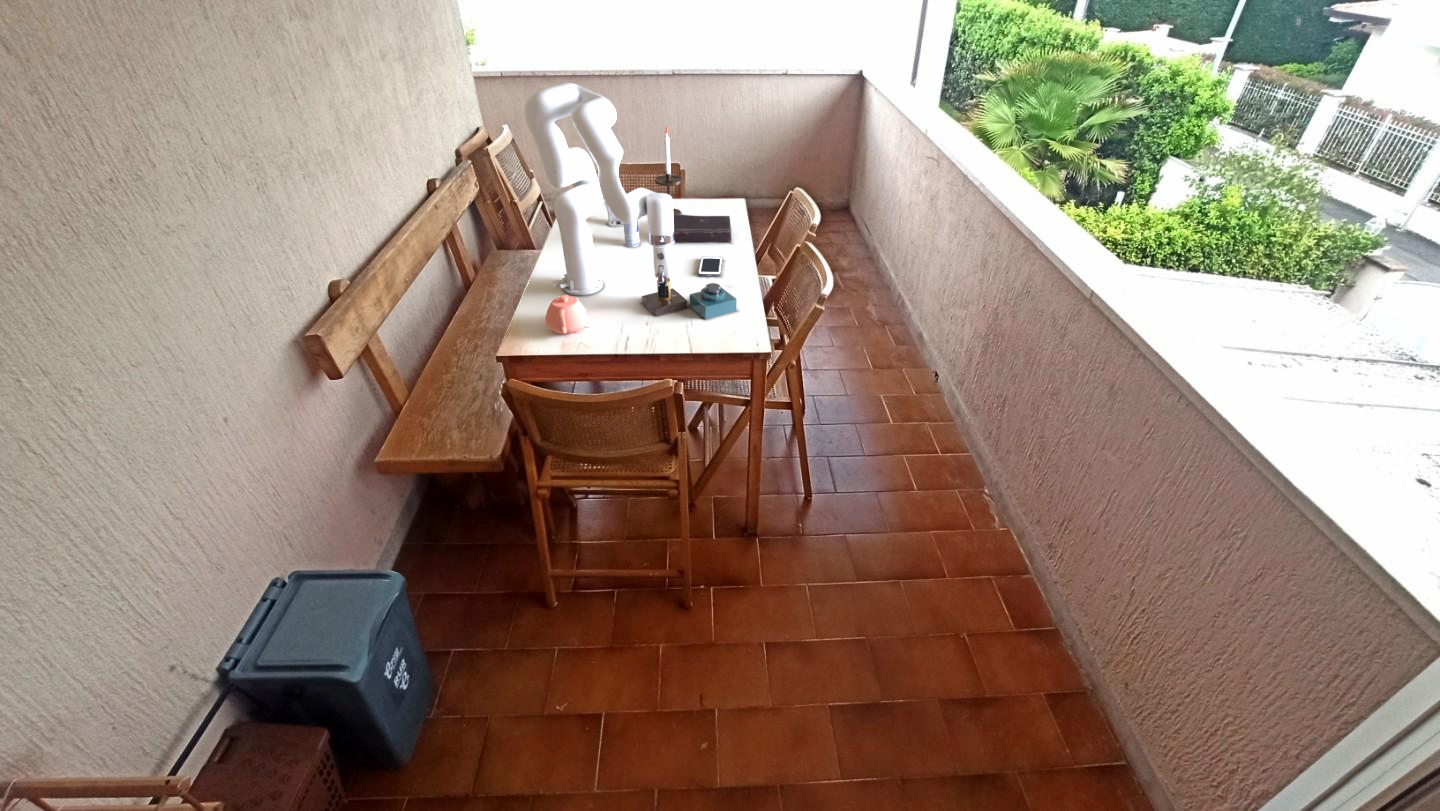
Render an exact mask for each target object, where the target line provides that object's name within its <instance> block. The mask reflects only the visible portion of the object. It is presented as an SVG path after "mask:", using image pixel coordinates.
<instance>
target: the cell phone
mask: <svg viewBox="0 0 1440 811" xmlns="http://www.w3.org/2000/svg"><path fill="white" fill-rule="evenodd" d="M723 258H724V257H722V256H701V258H700V262H699V267H698V276H700V277H721V275H722V269H723V262H724V259H723Z"/></svg>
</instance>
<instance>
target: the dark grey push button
mask: <svg viewBox="0 0 1440 811" xmlns="http://www.w3.org/2000/svg"><path fill="white" fill-rule="evenodd" d="M705 287H706V294H709V295H717V294H719V293H720V287H721V285H720V284H719V283H715V282H711V283H707V284H706V285H705Z"/></svg>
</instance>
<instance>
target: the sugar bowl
mask: <svg viewBox="0 0 1440 811" xmlns="http://www.w3.org/2000/svg"><path fill="white" fill-rule="evenodd" d="M588 314H589V313H588V312H587V309H586V308H585V306H584V305H583V303H581V301H580V300H579V299H578V298H576V297H575V296H573V295H567V294H561V295H559V296H556V297H555V298H553V299H552V300H551V302H550V303H549V305H548V307H547V310H546V313H545V325H546V326H547V327H548V329H549V330H551V331H552V332H554V333H556V334H561V335H569V334H577V333H579V332H580V331H582V330H583V329H584V328H585V327H586V325H587V324H588V322H589V315H588Z"/></svg>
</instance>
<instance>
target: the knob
mask: <svg viewBox="0 0 1440 811" xmlns="http://www.w3.org/2000/svg"><path fill="white" fill-rule="evenodd" d="M664 280H665V279H664ZM656 282H657V283H656V285H657V289H658V279H656ZM667 285H668V288H669V297H668V298H659V297H658V299H659V300H661V301H667V300H670V299H671V289H672V288H671V278H670V279H668V278H667Z"/></svg>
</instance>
